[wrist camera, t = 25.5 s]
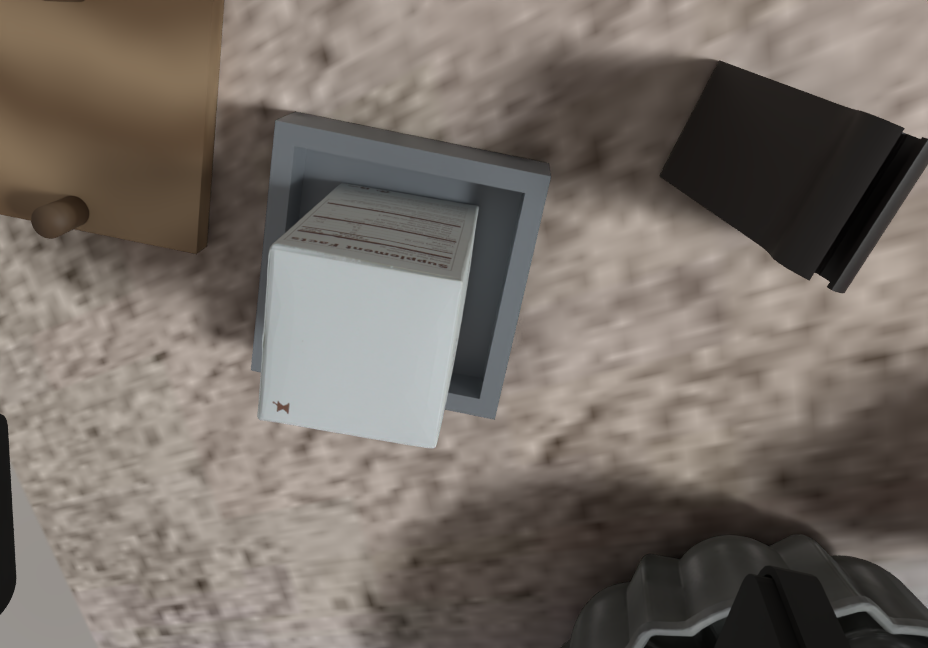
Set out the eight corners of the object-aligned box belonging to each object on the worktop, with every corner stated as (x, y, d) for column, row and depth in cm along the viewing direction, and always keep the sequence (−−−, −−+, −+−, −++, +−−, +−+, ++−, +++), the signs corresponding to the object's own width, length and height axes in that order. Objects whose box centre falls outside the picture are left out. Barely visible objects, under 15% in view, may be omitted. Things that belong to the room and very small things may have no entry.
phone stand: (657, 174, 40) (710, 236, 29) (718, 58, 38) (800, 78, 26) (815, 245, 41) (926, 333, 29) (883, 136, 38) (1031, 186, 27)
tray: (295, 111, 40) (275, 120, 37) (548, 163, 40) (550, 176, 37) (270, 344, 45) (250, 370, 41) (496, 390, 45) (494, 419, 42)
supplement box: (460, 335, 43) (436, 458, 31) (324, 310, 43) (249, 424, 31) (484, 202, 40) (468, 281, 28) (339, 175, 40) (263, 243, 28)
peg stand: (-42, -66, 38) (-104, -74, 34) (224, -11, 38) (192, -13, 34) (-30, 198, 43) (-83, 215, 39) (207, 246, 43) (176, 268, 39)
